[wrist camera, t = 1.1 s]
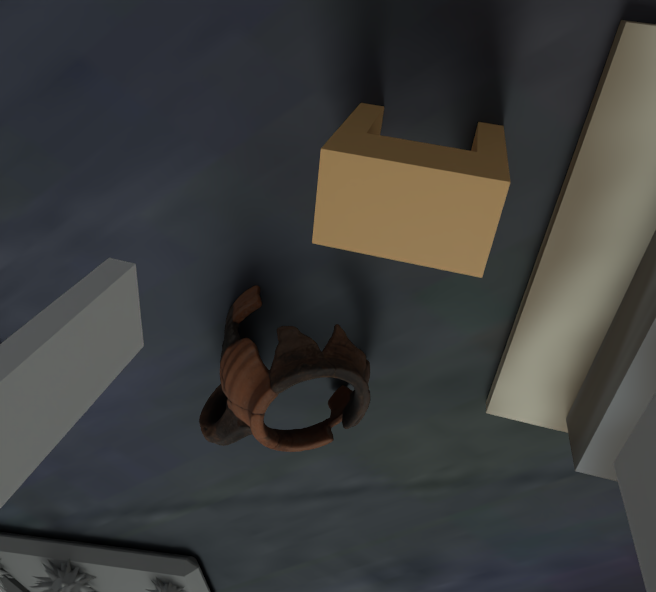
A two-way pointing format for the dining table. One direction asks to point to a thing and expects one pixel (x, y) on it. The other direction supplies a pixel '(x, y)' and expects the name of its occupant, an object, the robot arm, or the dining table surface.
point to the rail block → (595, 276)
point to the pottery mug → (281, 383)
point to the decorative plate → (92, 567)
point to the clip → (411, 195)
